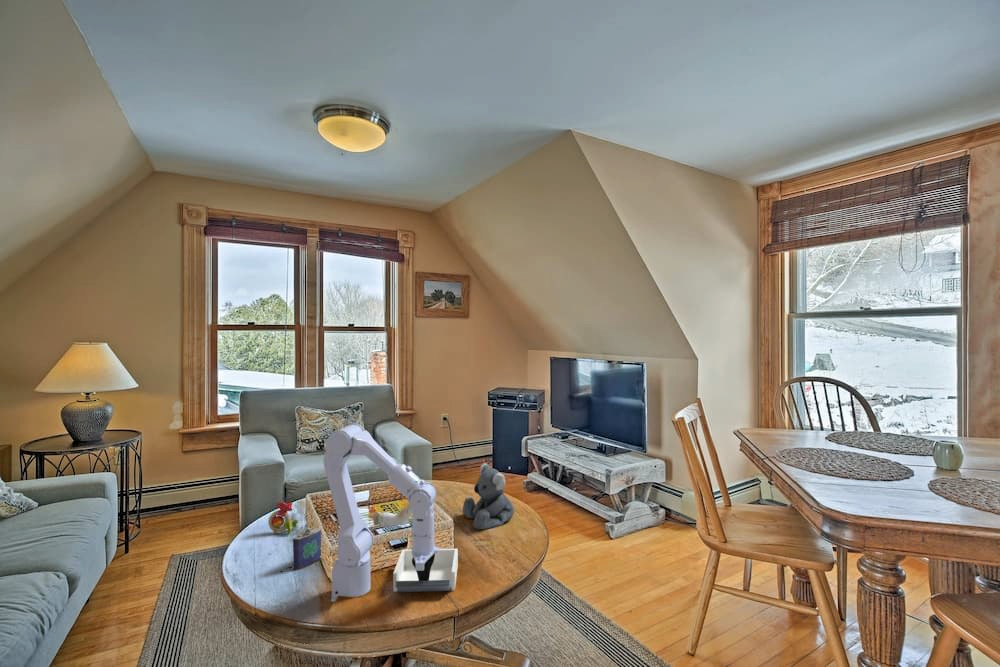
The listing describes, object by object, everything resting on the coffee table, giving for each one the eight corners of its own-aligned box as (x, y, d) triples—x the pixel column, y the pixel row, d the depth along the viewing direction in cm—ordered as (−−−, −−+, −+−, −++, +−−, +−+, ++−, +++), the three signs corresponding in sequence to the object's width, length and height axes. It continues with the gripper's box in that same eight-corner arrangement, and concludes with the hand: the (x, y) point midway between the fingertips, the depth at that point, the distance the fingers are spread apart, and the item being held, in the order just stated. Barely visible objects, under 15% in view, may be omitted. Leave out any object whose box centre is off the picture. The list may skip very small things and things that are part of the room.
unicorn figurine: (425, 548, 149) (425, 506, 149) (365, 547, 150) (365, 505, 150) (430, 538, 156) (430, 498, 156) (373, 537, 157) (372, 497, 157)
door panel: (398, 592, 122) (395, 585, 119) (398, 588, 123) (396, 581, 120) (450, 591, 123) (449, 584, 119) (450, 587, 123) (449, 580, 120)
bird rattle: (272, 543, 158) (298, 531, 159) (258, 514, 157) (284, 501, 158) (278, 535, 164) (303, 523, 165) (264, 507, 163) (289, 495, 165)
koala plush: (460, 515, 176) (459, 463, 176) (503, 507, 184) (502, 457, 184) (477, 532, 161) (477, 476, 161) (523, 523, 168) (523, 469, 168)
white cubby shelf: (393, 596, 122) (393, 573, 122) (402, 570, 135) (402, 549, 135) (454, 594, 123) (454, 572, 122) (457, 569, 136) (457, 548, 136)
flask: (318, 555, 144) (318, 521, 144) (324, 558, 143) (324, 523, 143) (291, 568, 137) (291, 532, 136) (297, 571, 135) (297, 534, 135)
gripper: (435, 544, 114) (436, 600, 114) (441, 520, 128) (441, 569, 129) (406, 545, 114) (407, 600, 114) (415, 520, 128) (416, 570, 128)
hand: (423, 584), depth 121 cm, fingers closed, pressing on door panel
